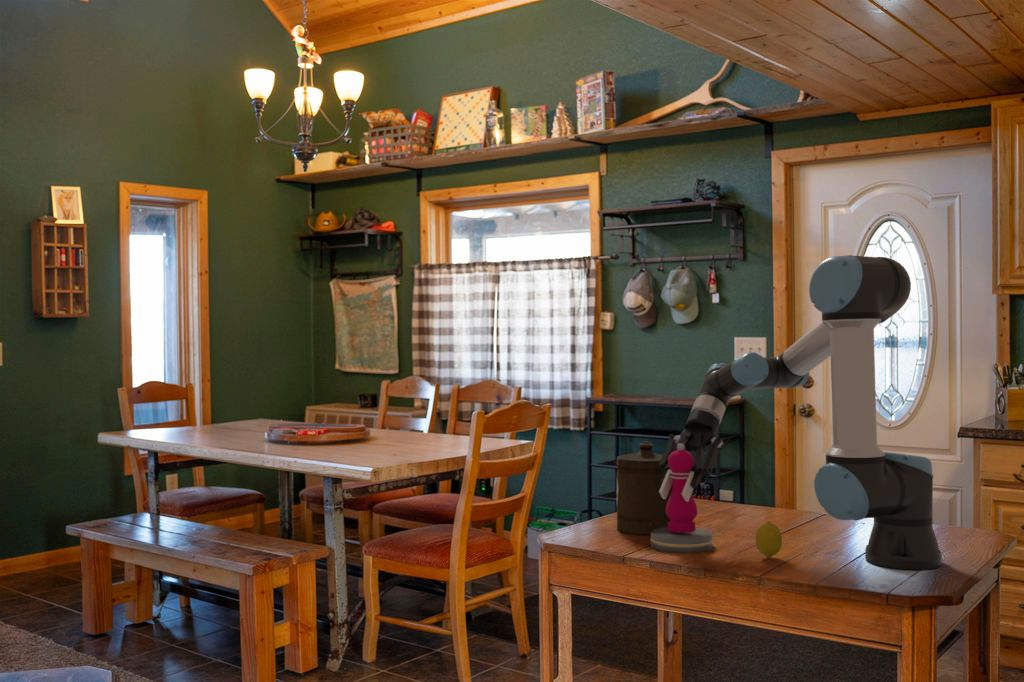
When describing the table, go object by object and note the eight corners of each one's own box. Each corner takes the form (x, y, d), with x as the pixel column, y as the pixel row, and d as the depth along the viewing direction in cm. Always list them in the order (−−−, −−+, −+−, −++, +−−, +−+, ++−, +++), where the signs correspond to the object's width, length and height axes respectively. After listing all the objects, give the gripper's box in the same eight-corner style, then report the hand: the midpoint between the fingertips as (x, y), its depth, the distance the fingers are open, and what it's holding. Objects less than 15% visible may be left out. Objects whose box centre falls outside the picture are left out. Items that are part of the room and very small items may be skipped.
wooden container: (643, 521, 256) (643, 436, 255) (688, 529, 244) (688, 441, 244) (604, 529, 246) (603, 441, 246) (649, 538, 235) (649, 446, 234)
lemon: (781, 556, 215) (781, 519, 215) (781, 561, 210) (781, 524, 209) (756, 554, 216) (755, 518, 216) (755, 560, 211) (755, 523, 211)
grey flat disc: (724, 549, 222) (724, 536, 222) (670, 555, 217) (670, 541, 217) (691, 537, 235) (691, 524, 235) (639, 542, 230) (639, 529, 230)
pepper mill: (696, 527, 229) (695, 441, 229) (698, 533, 222) (698, 445, 222) (664, 526, 230) (664, 441, 229) (666, 533, 222) (665, 445, 222)
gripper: (744, 430, 232) (715, 510, 219) (676, 426, 243) (644, 502, 230) (735, 409, 228) (704, 490, 215) (666, 406, 239) (632, 483, 226)
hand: (673, 496), depth 223 cm, fingers closed on pepper mill, 5 cm apart
